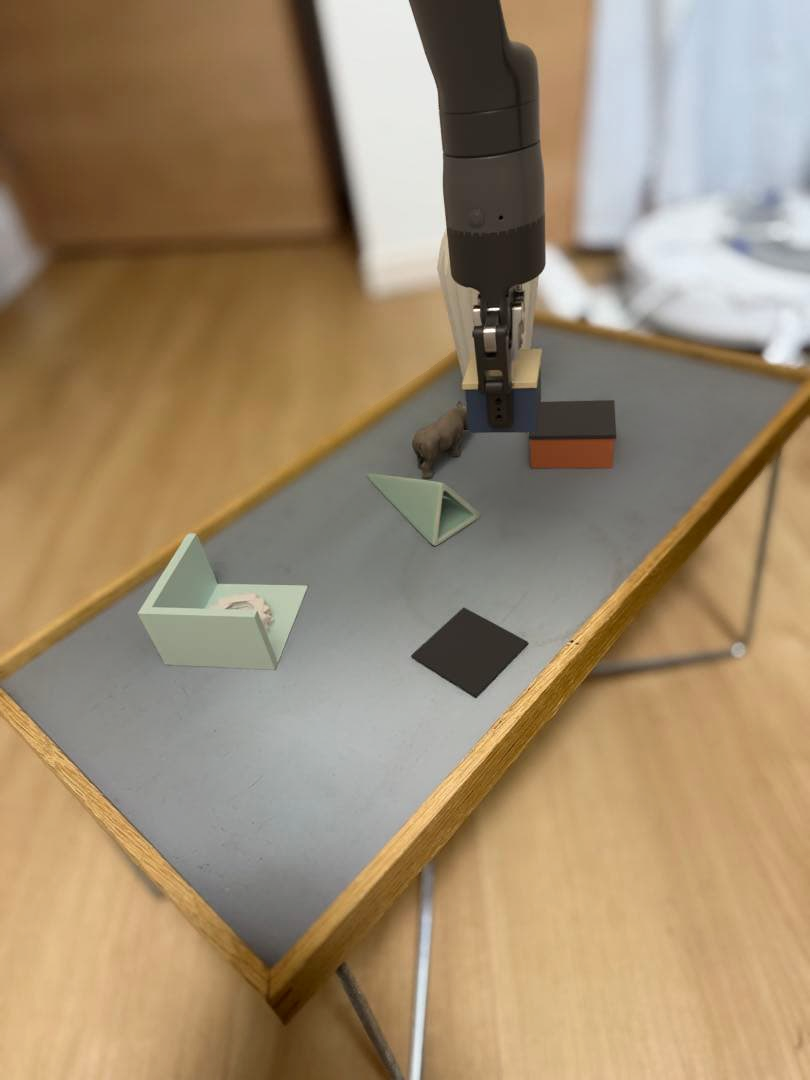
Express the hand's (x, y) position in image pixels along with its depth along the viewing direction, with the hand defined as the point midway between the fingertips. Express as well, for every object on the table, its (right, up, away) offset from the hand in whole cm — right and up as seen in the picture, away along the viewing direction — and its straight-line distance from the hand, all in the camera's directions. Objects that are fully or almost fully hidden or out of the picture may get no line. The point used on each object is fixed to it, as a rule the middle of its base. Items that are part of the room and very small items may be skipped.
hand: (505, 405), depth 64 cm
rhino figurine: (-3, 0, +32) cm, 32 cm away
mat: (-3, -23, +4) cm, 23 cm away
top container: (0, -1, +1) cm, 1 cm away
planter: (-9, -9, +23) cm, 26 cm away
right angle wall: (-27, -21, +11) cm, 36 cm away
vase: (+4, +8, +40) cm, 41 cm away
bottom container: (+13, -1, +28) cm, 30 cm away
